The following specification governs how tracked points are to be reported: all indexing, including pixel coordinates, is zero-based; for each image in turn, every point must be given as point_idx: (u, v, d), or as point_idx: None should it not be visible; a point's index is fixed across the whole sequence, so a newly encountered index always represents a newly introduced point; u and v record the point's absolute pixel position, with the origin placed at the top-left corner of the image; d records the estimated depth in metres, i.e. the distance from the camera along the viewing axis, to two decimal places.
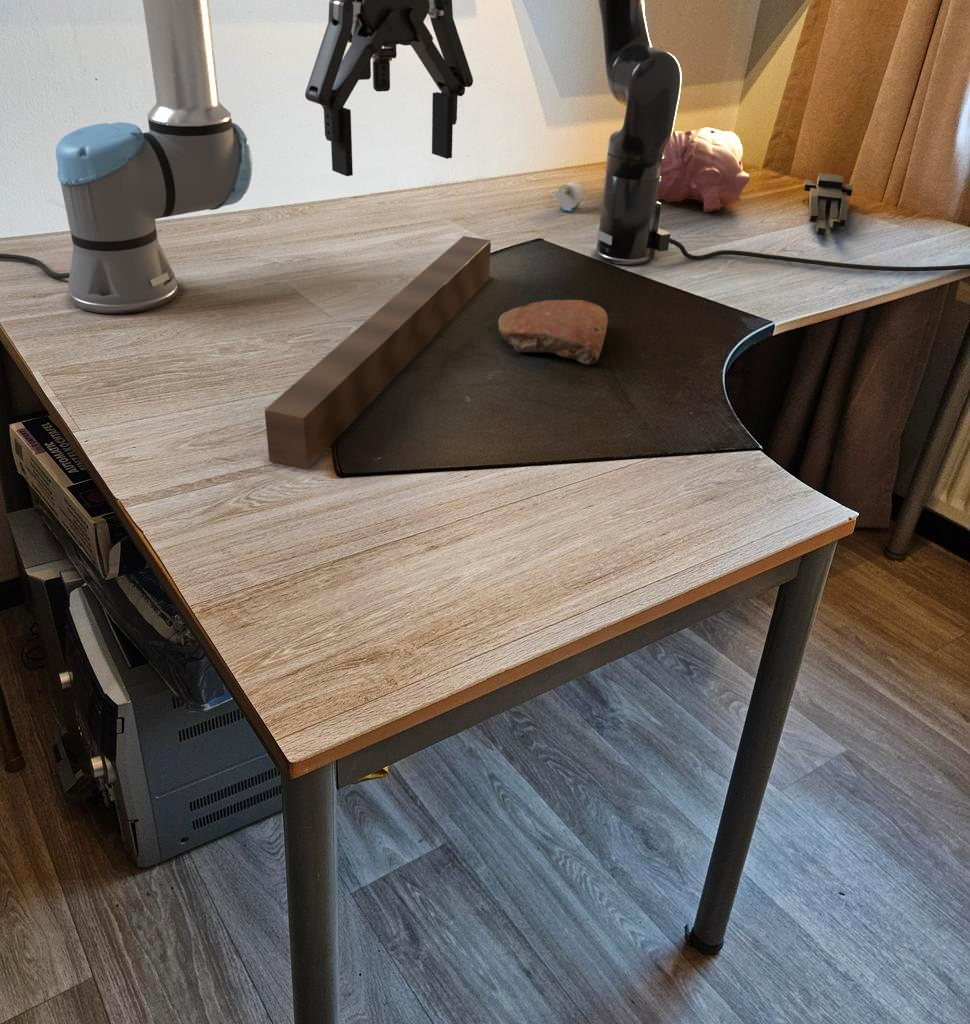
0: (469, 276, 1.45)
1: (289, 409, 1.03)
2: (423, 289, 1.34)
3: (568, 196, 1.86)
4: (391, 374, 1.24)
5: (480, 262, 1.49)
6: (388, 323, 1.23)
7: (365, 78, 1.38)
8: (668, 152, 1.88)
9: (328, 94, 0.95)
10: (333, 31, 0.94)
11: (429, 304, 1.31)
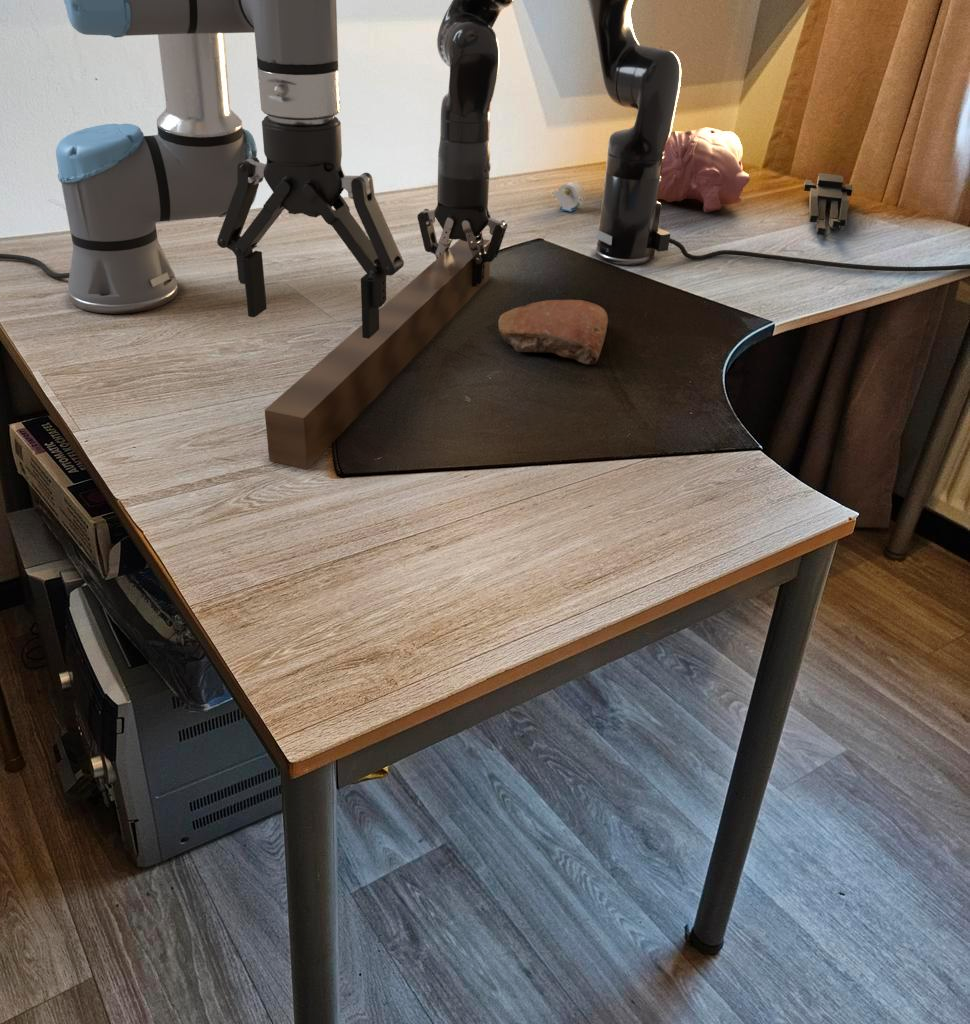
0: (469, 276, 1.45)
1: (289, 409, 1.03)
2: (423, 289, 1.34)
3: (568, 196, 1.86)
4: (391, 374, 1.24)
5: None
6: (388, 323, 1.23)
7: None
8: (668, 152, 1.88)
9: (226, 240, 1.01)
10: None
11: (429, 304, 1.31)
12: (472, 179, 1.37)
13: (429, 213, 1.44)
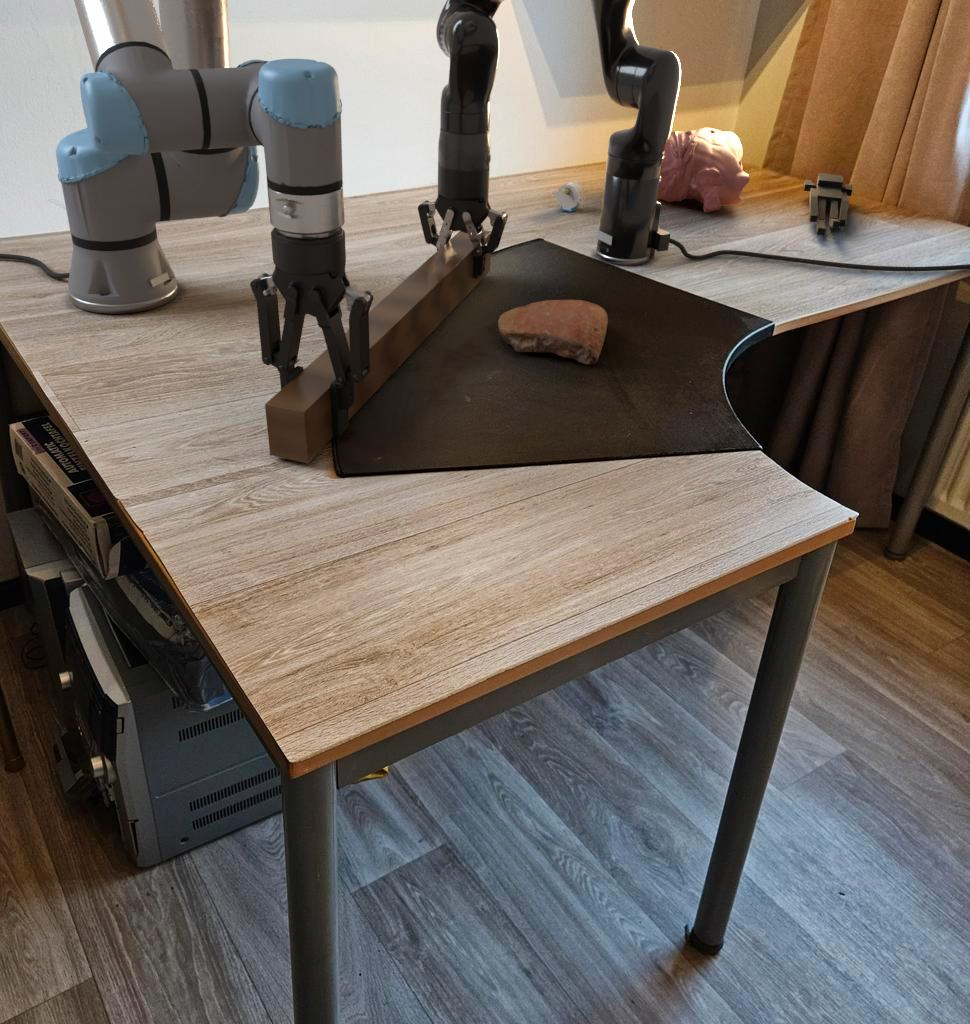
0: (469, 268, 1.45)
1: (289, 404, 1.03)
2: (423, 281, 1.33)
3: (568, 196, 1.86)
4: (392, 367, 1.23)
5: None
6: (388, 316, 1.23)
7: None
8: (668, 152, 1.88)
9: (269, 356, 1.07)
10: None
11: (429, 296, 1.31)
12: (472, 170, 1.37)
13: (429, 205, 1.44)
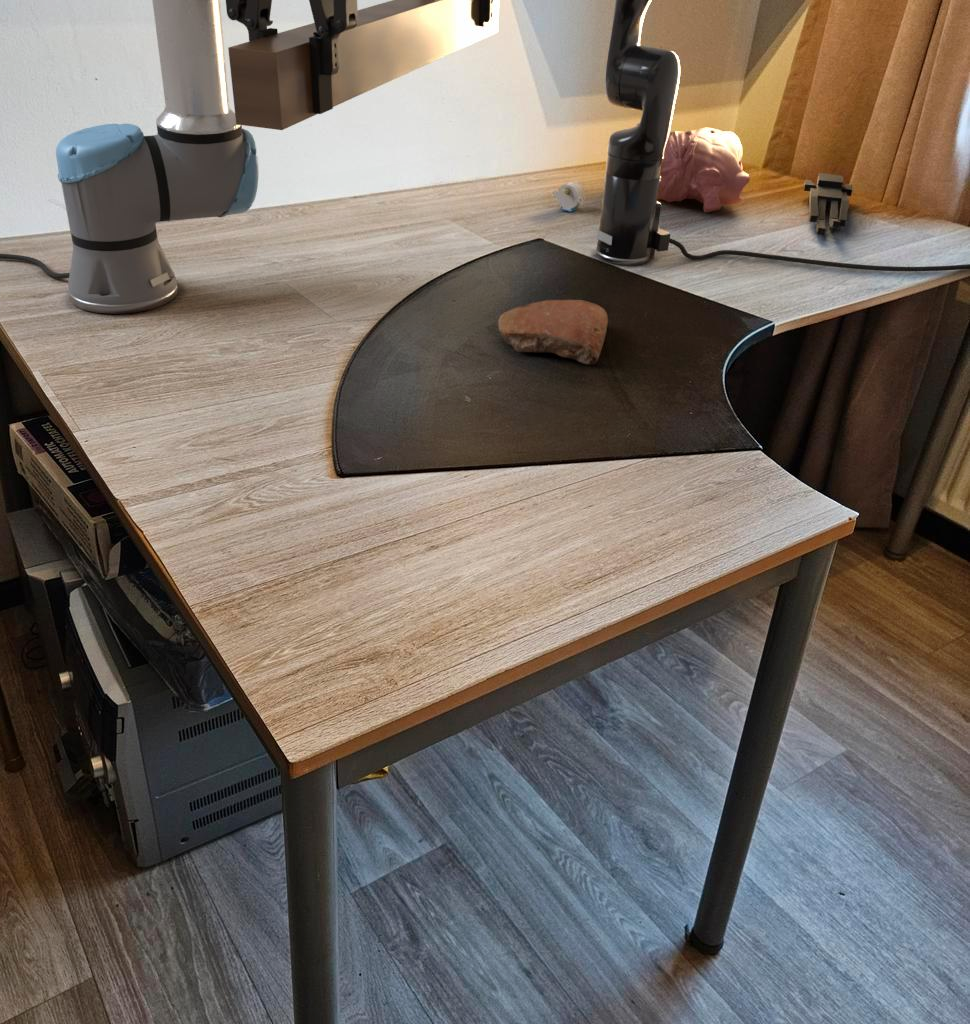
0: (475, 10, 1.26)
1: (258, 48, 0.84)
2: None
3: (568, 196, 1.86)
4: (386, 74, 1.04)
5: None
6: (381, 13, 1.04)
7: None
8: (668, 152, 1.88)
9: (235, 6, 0.88)
10: None
11: (429, 11, 1.12)
12: None
13: None
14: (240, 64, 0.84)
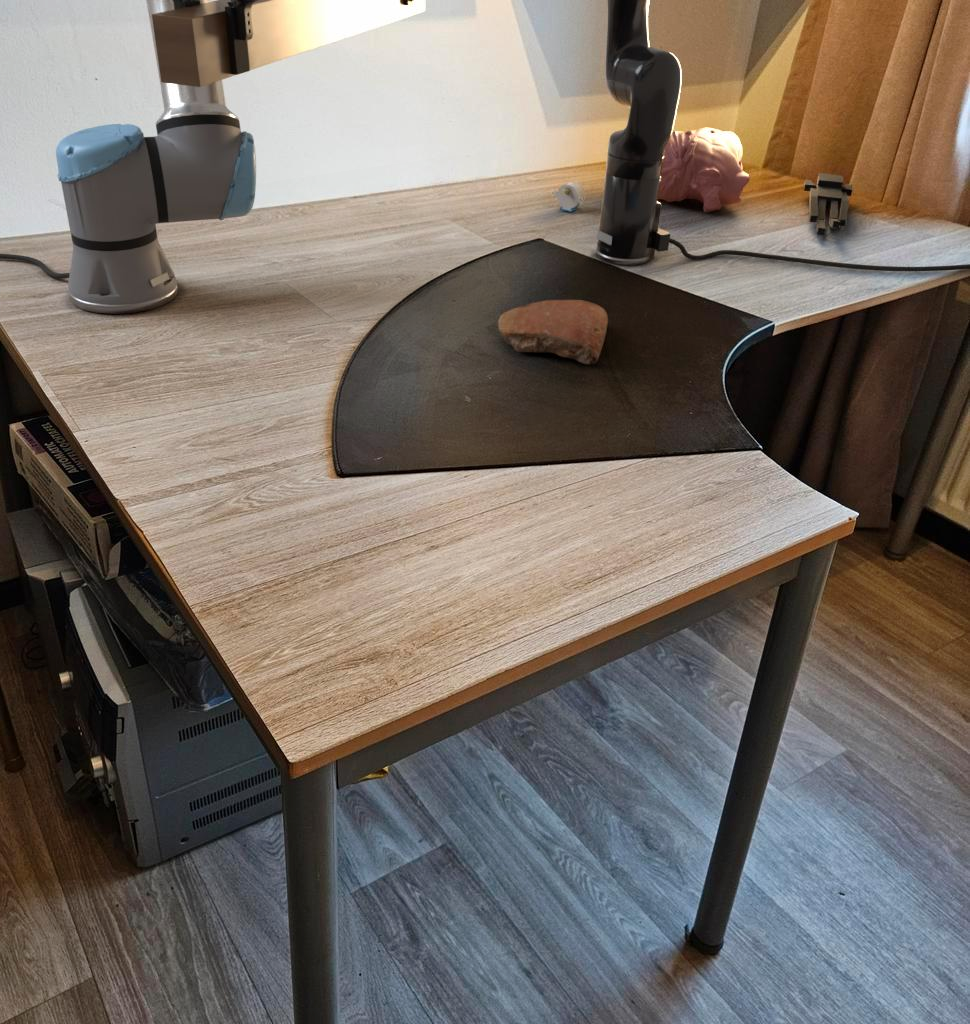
0: None
1: (177, 15, 0.97)
2: None
3: (568, 196, 1.86)
4: (305, 44, 1.18)
5: None
6: None
7: None
8: (668, 152, 1.88)
9: None
10: None
11: None
12: None
13: None
14: (162, 29, 0.97)
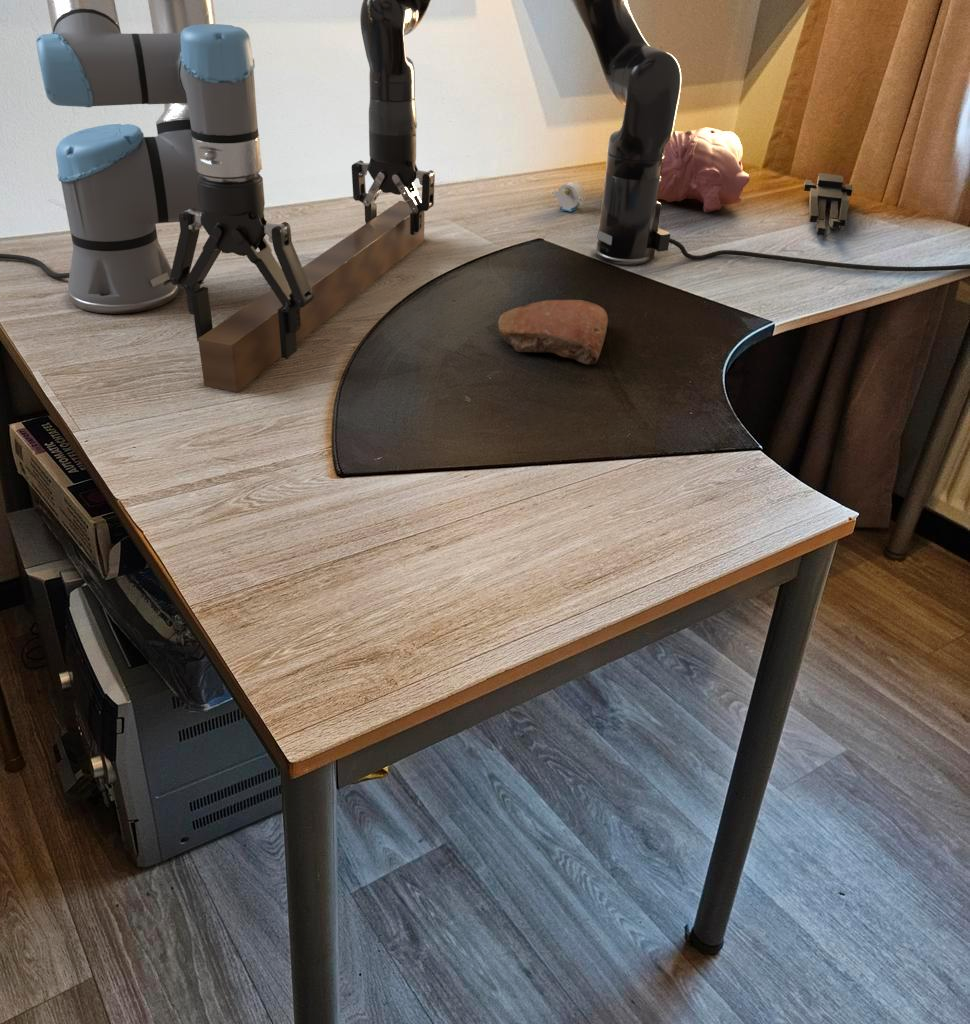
0: (401, 235, 1.60)
1: (219, 338, 1.17)
2: (355, 244, 1.48)
3: (568, 196, 1.86)
4: (322, 317, 1.38)
5: None
6: (318, 271, 1.37)
7: None
8: (668, 152, 1.88)
9: (177, 278, 1.21)
10: None
11: (359, 257, 1.45)
12: (399, 135, 1.50)
13: (363, 166, 1.57)
14: (206, 349, 1.17)
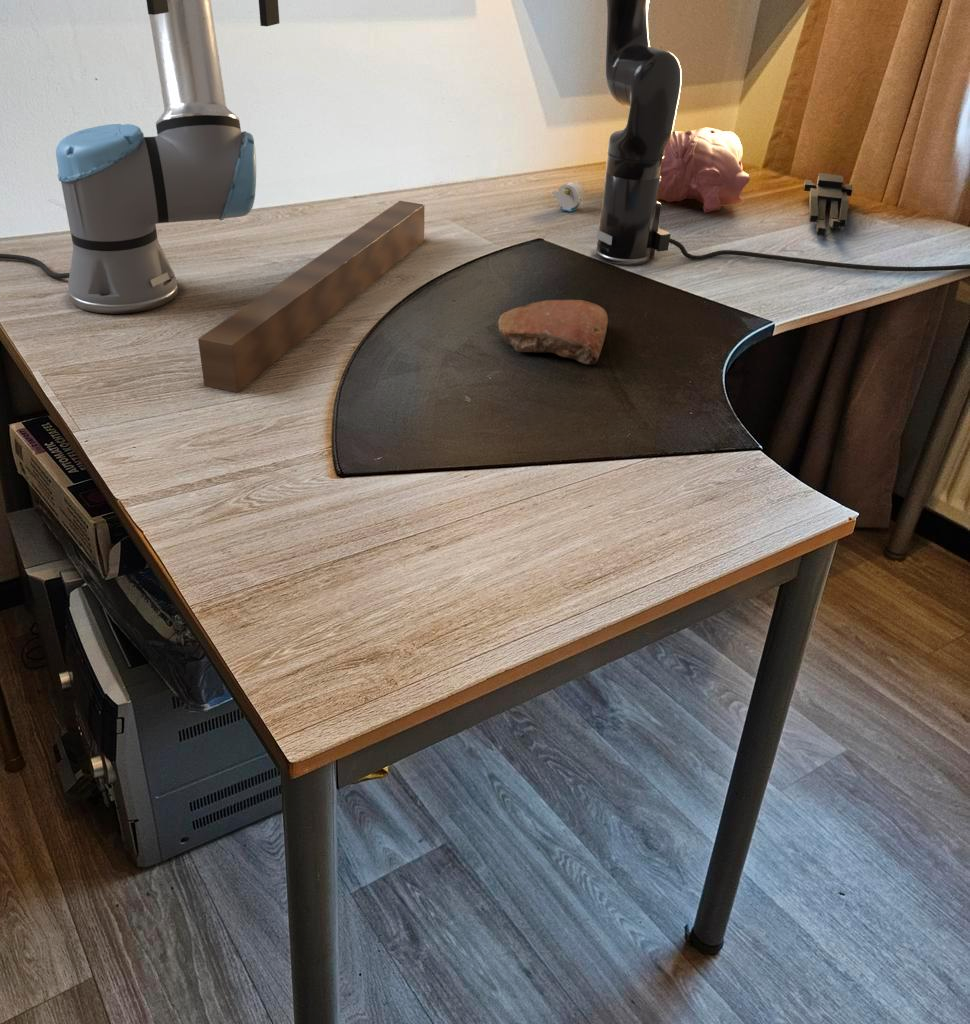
0: (401, 235, 1.60)
1: (219, 338, 1.17)
2: (355, 244, 1.48)
3: (568, 196, 1.86)
4: (322, 317, 1.38)
5: (413, 224, 1.64)
6: (318, 271, 1.37)
7: None
8: (668, 152, 1.88)
9: None
10: None
11: (359, 257, 1.45)
12: None
13: None
14: (206, 349, 1.17)
